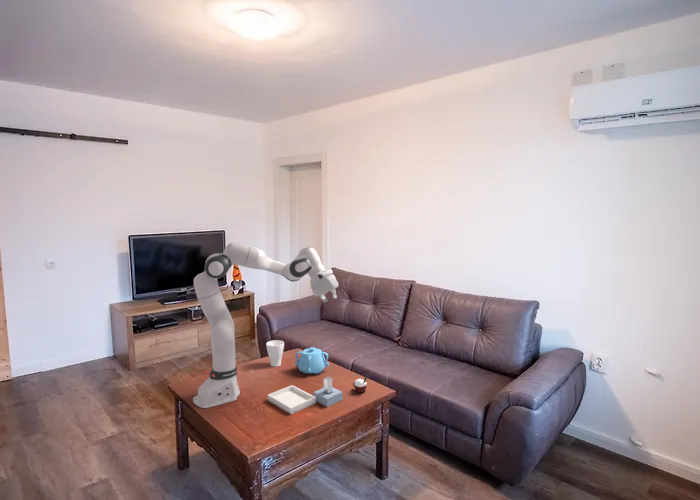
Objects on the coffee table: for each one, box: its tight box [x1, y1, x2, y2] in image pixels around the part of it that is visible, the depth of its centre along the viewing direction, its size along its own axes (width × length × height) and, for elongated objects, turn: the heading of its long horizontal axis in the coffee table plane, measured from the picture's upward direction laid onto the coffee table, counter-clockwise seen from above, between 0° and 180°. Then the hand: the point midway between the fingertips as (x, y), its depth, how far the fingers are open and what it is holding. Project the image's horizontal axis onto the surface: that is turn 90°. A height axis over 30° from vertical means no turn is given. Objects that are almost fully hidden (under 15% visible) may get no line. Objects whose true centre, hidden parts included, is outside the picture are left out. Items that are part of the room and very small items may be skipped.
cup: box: [265, 339, 285, 368], centre depth 242 cm, size 10×10×14 cm
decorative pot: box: [294, 346, 330, 375], centre depth 233 cm, size 16×16×14 cm
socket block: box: [313, 386, 344, 407], centre depth 199 cm, size 10×10×4 cm
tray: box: [266, 384, 317, 415], centre depth 197 cm, size 15×19×3 cm
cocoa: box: [352, 369, 370, 393], centre depth 207 cm, size 10×6×12 cm, turn 32°
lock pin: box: [323, 376, 333, 394], centre depth 198 cm, size 3×3×11 cm
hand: (330, 300), depth 211 cm, fingers open, 8 cm apart
